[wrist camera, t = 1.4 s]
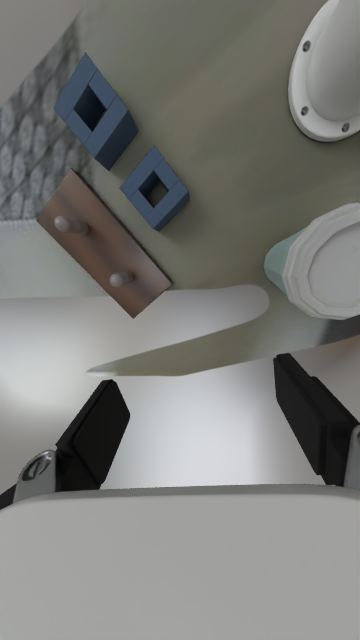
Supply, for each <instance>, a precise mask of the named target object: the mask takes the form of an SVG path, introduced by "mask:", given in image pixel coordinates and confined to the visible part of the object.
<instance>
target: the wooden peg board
mask: <svg viewBox="0 0 360 640" xmlns="http://www.w3.org/2000/svg"><path fill="white" fill-rule="evenodd" d="M36 221H37V222H38V223H39V224H40V225H41V226H42V227H43V228H44V229H45V230H46V231H47V232H48V233H49V234H50V235H51V236H52V237H53V238H54V239H55V240H56V241H57V242H58V243H59V244H60V245H61V246H62V247H63V248H64V249H65V250H66V251H67V252H68V253H69V254H70V255H71V256H72V257H73V258H74V259H75V260H76V261H77V262H78V263H79V264H80V265H81V266H82V267H83V268H84V269H85V270H86V271H87V272H88V273H89V274H90V275H91V276H92V277H93V278H94V279H95V280H96V281H97V282H98V283H99V285H100V286H101V287H102V288H103V289H104V290H105V291H106V292H107V293H108V294H109V295H110V296H111V297H112V298H113V299H115V301H117V303H118V304H119V305H120V306H121V307H122V308H123V309H124V310H125V311H126V312H127V313H128V314H129V315H130V316H131V317H132V318H135V317H136V316H137V315H138V314H139V313H140V312H141V311H143V309H145V308H146V307H147V306H148V305H149V304H150V303H152V302H153V301H154V300H155V299H156V298H157V297H158V296H159V295H161V294H162V293H163V292H164V291H165V290H166V289H167V288H169V287H170V286H171V285H172V284H173V282H172V281H171V279H170V278H169V277H168V276H167V275H166V274H165V273H164V271H163V270H162V269H161V268H160V267H159V266H158V265H157V263H156V262H155V261H154V260H153V259H152V258H151V256H150V255H149V254H148V253H147V252H146V251H145V250H144V248H143V247H142V246H141V245H140V244H139V243H138V241H137V240H136V239H135V238H134V237H133V236H132V235H131V233H130V232H129V231H128V230H127V229H126V228H125V227H124V225H123V224H122V223H121V222H120V221H119V220H118V218H117V217H116V216H115V215H114V214H113V213H112V212H111V210H110V209H109V208H108V207H107V206H106V205H105V203H104V202H103V201H102V200H101V199H100V198H99V197H98V195H97V194H96V193H95V192H94V191H93V190H92V189H91V187H90V186H89V185H88V184H87V183H86V182H85V180H84V179H83V178H82V177H81V176H80V175H79V174H78V172H76V171H75V170H73V169H72V168H71V169H70V170H69V172H68V173H67V175H66V176H65V178H64V179H63V181H62V182H61V184H60V185H59V187H58V188H57V190H56V191H55V193H54V194H53V196H52V197H51V199H50V200H49V202H48V203H47V205H46V206H45V208H44V209H43V211H42V212H41V214H40V215H39V217H38V218H37V220H36Z"/></svg>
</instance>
